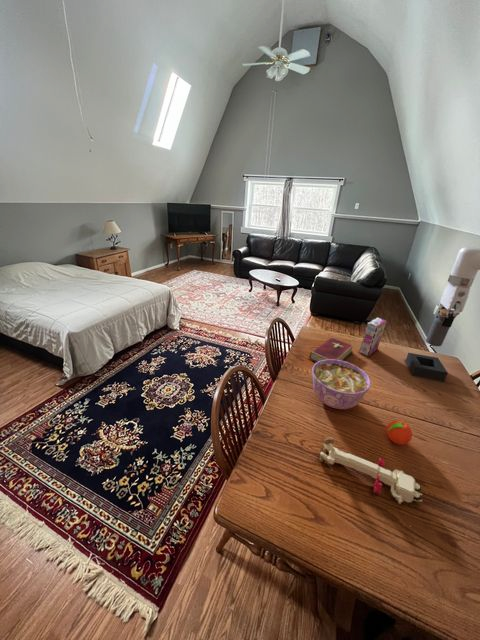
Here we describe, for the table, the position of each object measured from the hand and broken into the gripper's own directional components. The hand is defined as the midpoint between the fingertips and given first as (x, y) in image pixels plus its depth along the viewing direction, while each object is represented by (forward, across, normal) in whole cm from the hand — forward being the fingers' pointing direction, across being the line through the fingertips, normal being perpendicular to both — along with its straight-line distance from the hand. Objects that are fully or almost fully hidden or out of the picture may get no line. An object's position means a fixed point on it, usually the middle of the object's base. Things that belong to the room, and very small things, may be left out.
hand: (442, 322), depth 110 cm
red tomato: (+24, -47, +21) cm, 57 cm away
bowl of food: (+24, -34, +39) cm, 57 cm away
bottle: (+10, 0, 0) cm, 10 cm away
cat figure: (+24, -63, +31) cm, 74 cm away
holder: (+24, 0, 0) cm, 24 cm away
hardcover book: (+24, -2, +40) cm, 47 cm away
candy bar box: (+24, +9, +22) cm, 34 cm away
